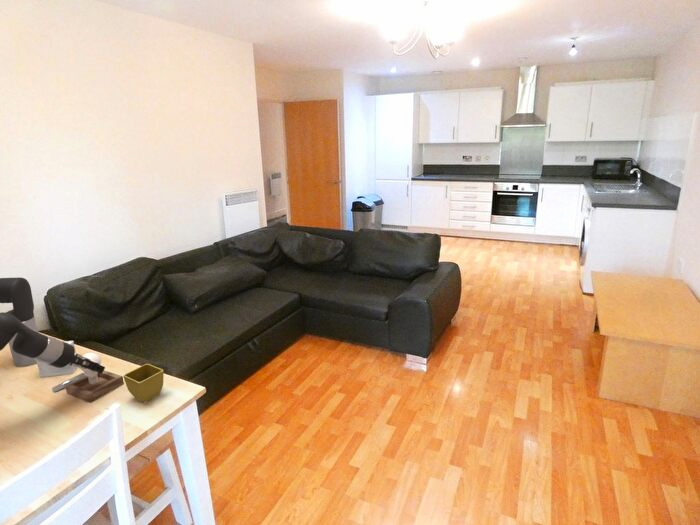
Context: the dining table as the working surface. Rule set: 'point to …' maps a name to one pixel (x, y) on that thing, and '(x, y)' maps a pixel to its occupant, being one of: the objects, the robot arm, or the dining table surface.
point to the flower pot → (144, 382)
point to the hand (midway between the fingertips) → (96, 367)
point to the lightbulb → (91, 374)
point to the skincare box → (50, 370)
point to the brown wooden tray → (94, 386)
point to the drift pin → (67, 382)
